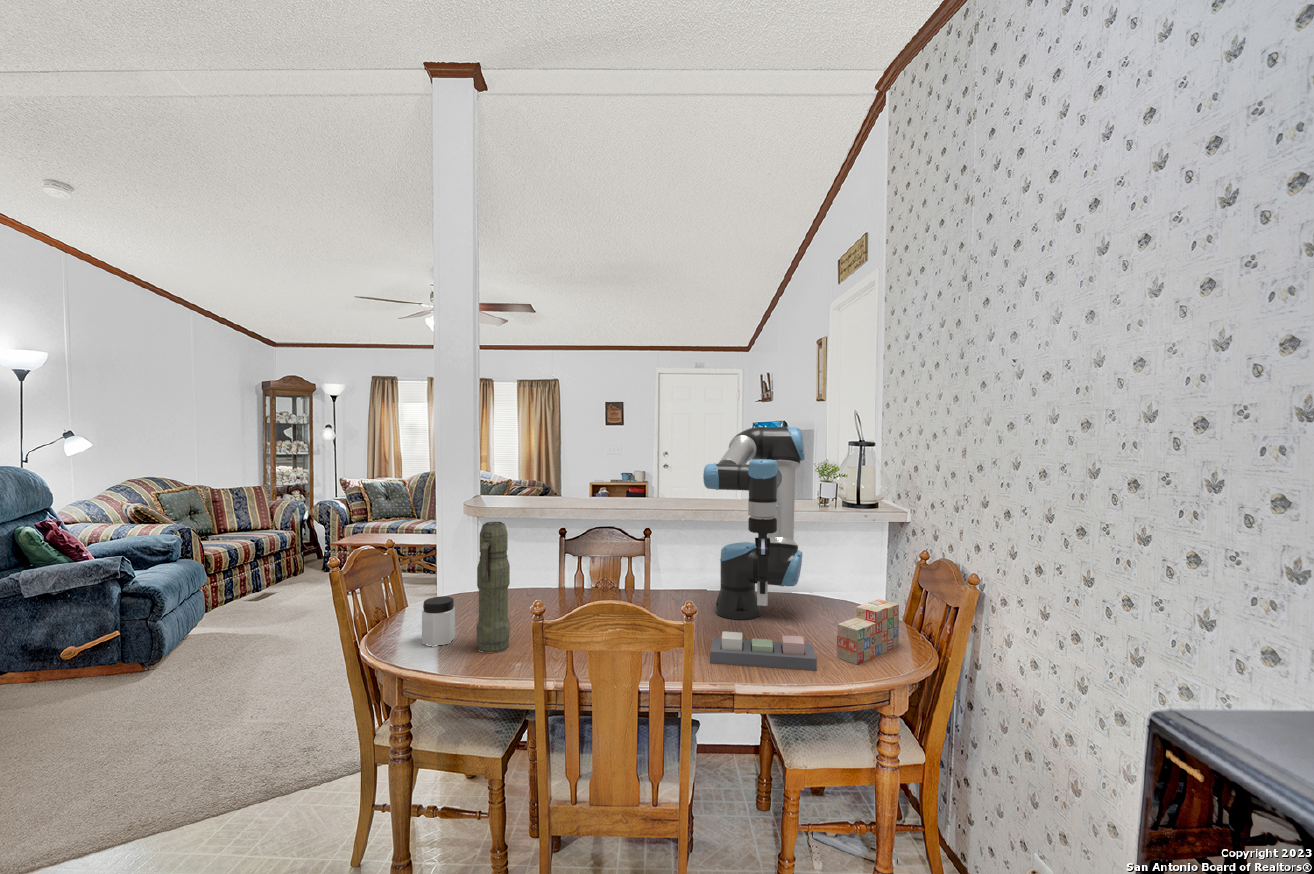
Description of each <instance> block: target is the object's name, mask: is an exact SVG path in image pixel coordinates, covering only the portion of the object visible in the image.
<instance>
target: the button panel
mask: <svg viewBox="0 0 1314 874" xmlns="http://www.w3.org/2000/svg"><path fill="white" fill-rule="evenodd" d="M772 642H773V653H767V652H752V639H742V651H738V650H723V649H722V637H721V638H720V637H712V641H711V645H710V646H711V647H710V653H709V654H710V656H709V657H710V662H709V663H710V664H723V665H733V666H735V665H736V666H748V667H762V668H772V669H773V668H775V669H776V668H777V669H788V670H790V669H791V670H803V671H814V672H815V671H816V672H817V669H818V667H817V656H816V652H815V650H814V649H815V648H814V646H813V643H810V644H809V643H804V655H796V654H782V641H772Z"/></svg>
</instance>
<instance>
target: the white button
mask: <svg viewBox="0 0 1314 874" xmlns="http://www.w3.org/2000/svg"><path fill="white" fill-rule="evenodd" d="M721 633H722V635H721V638H722V649H723V650H738V651H742V640H743V632H738V631H724V630H723V631H722V632H721Z"/></svg>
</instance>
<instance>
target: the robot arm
mask: <svg viewBox="0 0 1314 874" xmlns="http://www.w3.org/2000/svg"><path fill="white" fill-rule="evenodd" d="M804 447H805V445H804V439H803V433H802V430H801V428H799V427H797V426H788V425H787V426H755V427H751V428H747V429H745V430H743V431H741V432H739V433H737V434H736V435H735V436H734V437H732V439H731V440H730V442H729V444H728V450H727V451H725V453H724V455H723V456H722V457H721V459H720V460H719V462H718V463H715V462H714V463H707V464H706V465H705V466H704V469H703V473H702V474H703V478H702V479H703V484H704V487H705V488H706V489H709V490H715V491H721V490H722V491H747V492H748V503H747V505H748V506H747V509H748V510H747V511H748V512H747V513H748V516H749V518H748V522H747V523H748V528H747V529H748V531H749V532H751V533H752V534H757V536H758V537H754V538H755V539H754V542H755V543H754V542H749V541H748V542H747V541H746V542H745V541H744V542H735V543H730V544H725V545H724V546H723V547H722V548H721V550H720V559H719V562H720V587H719V589H720V590H719V593H718V596H717V599H716V602H715V606H714V607H715V608H714V610H715V614H716V615H717V616H720V617H722V618H724V619H725V618H726V619H729V620H743V621H744V620H752V619H756V618H758V617H760V615H761V606H762V607H763V606H764V607H765V606H768V605H769V603H768V599H769V597H768V596H769V595H768V593H769V591H768V588H769V587H768V586H779V587H783V588H784V587H795V586H797V584H798V583H799V579H800V576H801V570H802V565H803V551H802V550H799V545H798V544H797V543H796V541H795V540H794V536H795V535H794V534H795V531H794V530H795V502H796V501H795V497H796V496H795V495H796V471H797V469H798V468H800V467H801V462H803V461H805V459H806V456H805V448H804ZM747 463H748V464H747ZM756 592H757V593H756Z"/></svg>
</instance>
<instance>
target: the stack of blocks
mask: <svg viewBox="0 0 1314 874" xmlns="http://www.w3.org/2000/svg"><path fill="white" fill-rule="evenodd" d="M899 613H900V604H899V603H895V602H893V601H886V600H883V599H876V600H870V601H868V602H866V603H863V604H861V605H858V606H856V607H855V617H853V618H851V619H848V620H845V621H843V622H840V623H837V635H836V658H838V659H840V660H843V661H846V662H849V663H851V664H854V665H859V664H861V663H863V662H867V661H868V660H871V659H874V658H876V657H878V656H880V655H882V654H884V653H886V652H889V651H891V650H894V649H896V648H898V647H900V645H899V643H900V642H899V641H900V638H899V637H900V636H899V634H900V633H899V627H900V614H899ZM888 650H889V651H888ZM883 652H884V653H883Z"/></svg>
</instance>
